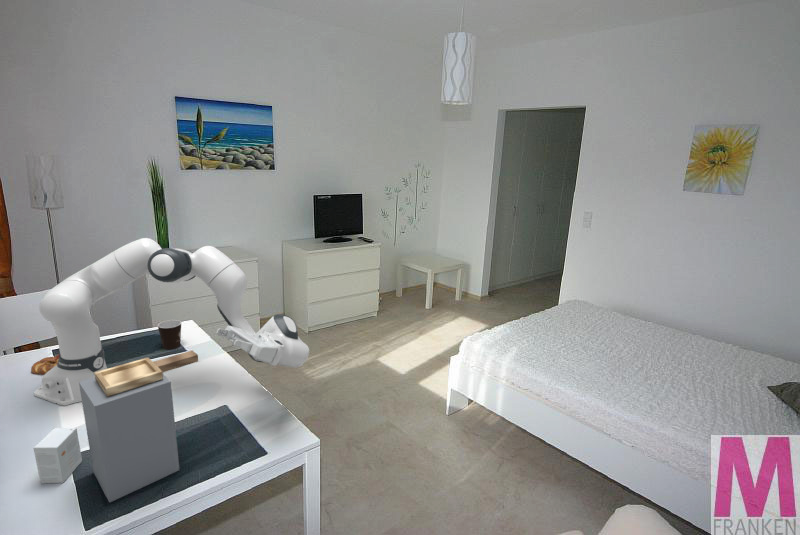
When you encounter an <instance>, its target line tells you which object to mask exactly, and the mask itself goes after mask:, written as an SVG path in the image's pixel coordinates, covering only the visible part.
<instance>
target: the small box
mask: <svg viewBox="0 0 800 535" xmlns="http://www.w3.org/2000/svg"><path fill="white" fill-rule="evenodd" d="M33 452H34V457H35V462H36V466H37V472H38V477H39V482H40V483H41V484H60V483H61V484H62V483H65V481H66V480H67V479H69V477H70V476H71V475H72V473H74V471H75V470H76V469H77V468H78V467H79V465H80V464H81V463H82V462H83V458H82V452H81V445H80V440H79V435H78V428H77V427H53V429H52V430H50V431H49V432H48V433H47V434H46V435H45V436H44V437H43V438H42V439H41V440H39V442H38V443H37V444H36V445H35V446H33Z"/></svg>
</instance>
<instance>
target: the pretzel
mask: <svg viewBox="0 0 800 535" xmlns="http://www.w3.org/2000/svg"><path fill="white" fill-rule="evenodd" d="M58 355H59V354H57V355H55V356H54V357H55V358H57V357H56V356H58ZM54 357H53V356H46V357H44V358H41V359H39V360H38V361H36V362H34V363H33V364H32V366H31V367H30V372H31V373H32V374H34V375H41V376H44V375H45V374H46V373H47V372H48V371H49V370H51V369H52V368H53V367H55V366H56V365H57V363H58V359H57V360H54V359H55V358H54Z"/></svg>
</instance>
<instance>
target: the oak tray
mask: <svg viewBox="0 0 800 535" xmlns="http://www.w3.org/2000/svg"><path fill="white" fill-rule="evenodd" d="M198 362H199V355H198V353H196V352H195V351H194V350H189V351H185V352H181V353H179V354H175V355H171V356H168V357H163V358H161V359H157V360H155V361H153V360H152V359H151V358H149V357H144V358H140V359H138V360H133V361H130V362H127V363H123V364H119V365H116V366H113V367H110V368H109V367H107V369H105V370H101V371H98V372H94V374H95V380H96V381H97V383H98V384H99V385H100V387H101V388H102V390H103V391H104V392H105V394H106V395H107V397H108V396H111V395H114V394H117V393H120V392H123V391H126V390H130V389H133V388H136V387H139V386H142V385H145V384H148V383H152V382H155V381H158V380H161V379H163V374H164V373H166V372H169V371H172V370H175V369H179V368H181V367H185V366H189V365H192V364H195V363H198Z"/></svg>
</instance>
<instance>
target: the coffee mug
mask: <svg viewBox="0 0 800 535" xmlns="http://www.w3.org/2000/svg"><path fill="white" fill-rule="evenodd" d="M157 328H158V333H159V337H160V341H161V345H162V349H163V350H166V351H172V350H177V349H178V348H180V347H181V342H182V341H181V335H182V321H181V320H177V319H169V320H164V321H163V320H162V321H161V322H159V323H158V324H157Z"/></svg>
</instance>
